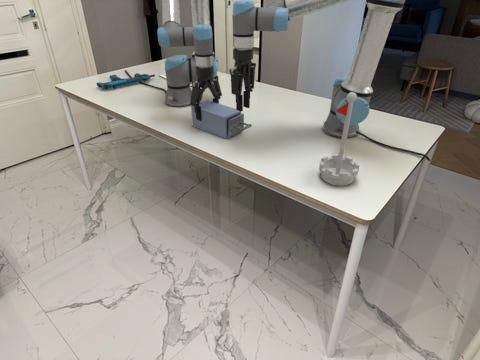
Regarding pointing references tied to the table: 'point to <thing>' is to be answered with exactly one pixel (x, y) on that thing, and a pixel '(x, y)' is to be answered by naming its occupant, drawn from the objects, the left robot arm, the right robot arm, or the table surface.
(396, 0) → the right robot arm
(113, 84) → the submachine gun
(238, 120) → the drawer
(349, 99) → the flag stand
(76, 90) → the table surface
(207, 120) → the cabinet
